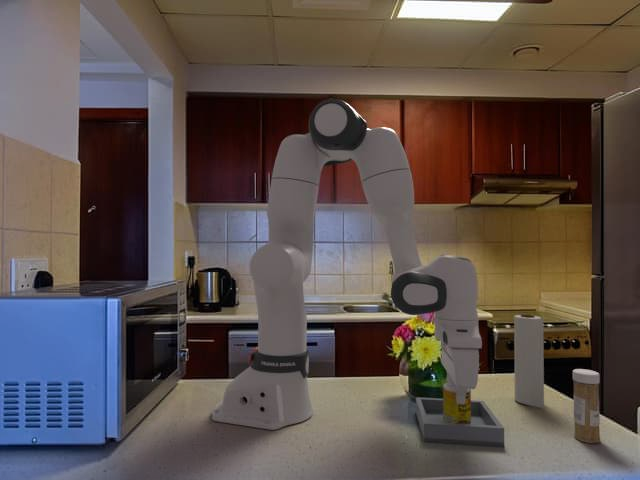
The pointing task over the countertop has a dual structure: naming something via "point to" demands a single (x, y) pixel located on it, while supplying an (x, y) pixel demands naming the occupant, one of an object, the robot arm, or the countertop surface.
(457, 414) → the supplement bottle
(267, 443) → the countertop surface
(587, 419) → the spice jar
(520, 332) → the paper towel roll
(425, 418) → the tray
